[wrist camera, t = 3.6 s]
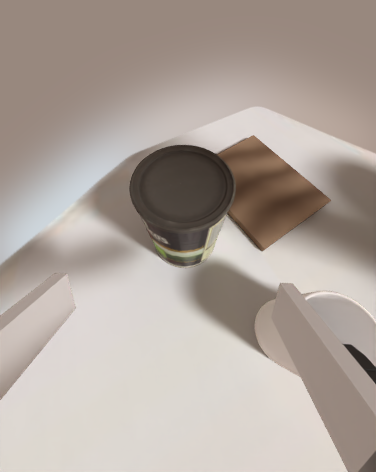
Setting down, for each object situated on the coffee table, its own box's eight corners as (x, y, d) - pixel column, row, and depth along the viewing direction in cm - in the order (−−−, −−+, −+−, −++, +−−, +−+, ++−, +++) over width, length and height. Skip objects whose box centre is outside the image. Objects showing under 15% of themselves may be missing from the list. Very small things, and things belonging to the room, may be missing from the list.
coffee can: (172, 280, 28) (157, 251, 15) (144, 228, 31) (113, 167, 18) (228, 249, 30) (258, 198, 17) (196, 202, 33) (200, 131, 20)
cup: (247, 301, 26) (279, 293, 17) (327, 295, 27) (402, 284, 17) (260, 369, 23) (308, 406, 14) (351, 361, 23) (459, 393, 14)
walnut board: (326, 204, 33) (331, 200, 32) (262, 251, 29) (264, 248, 28) (251, 140, 40) (253, 135, 38) (191, 172, 36) (191, 168, 35)
